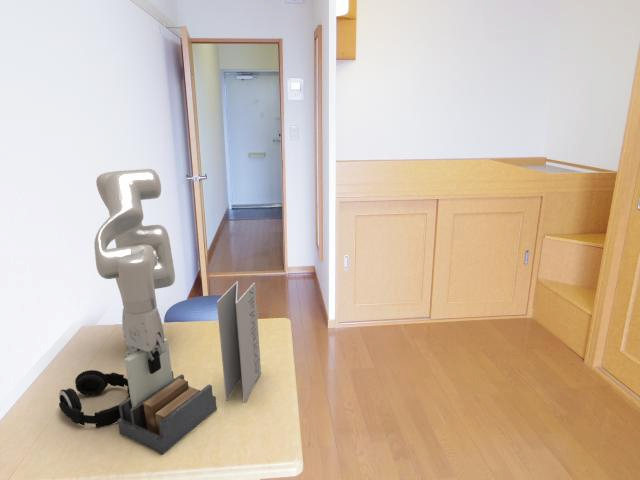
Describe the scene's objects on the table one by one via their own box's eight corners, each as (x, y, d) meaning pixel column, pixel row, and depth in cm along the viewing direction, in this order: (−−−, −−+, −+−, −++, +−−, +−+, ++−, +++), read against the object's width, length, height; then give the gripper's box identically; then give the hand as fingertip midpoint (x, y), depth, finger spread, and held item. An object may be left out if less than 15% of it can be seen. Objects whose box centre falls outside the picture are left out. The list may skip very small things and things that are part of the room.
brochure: (244, 403, 128) (236, 303, 119) (225, 400, 129) (216, 301, 120) (261, 373, 141) (255, 282, 132) (243, 372, 142) (236, 281, 133)
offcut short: (159, 438, 115) (155, 413, 113) (193, 411, 125) (191, 387, 123) (167, 443, 114) (164, 417, 112) (202, 414, 124) (199, 390, 122)
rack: (119, 433, 117) (114, 406, 115) (176, 392, 133) (172, 368, 130) (162, 454, 110) (158, 426, 108) (216, 408, 126) (214, 383, 123)
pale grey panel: (135, 427, 119) (124, 358, 113) (170, 401, 129) (162, 337, 123) (140, 430, 118) (129, 360, 112) (176, 403, 128) (167, 338, 122)
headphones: (85, 360, 135) (149, 373, 132) (87, 383, 138) (150, 396, 135) (40, 398, 119) (112, 414, 116) (43, 423, 121) (114, 439, 118)
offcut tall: (148, 433, 117) (143, 403, 114) (183, 406, 127) (179, 378, 124) (156, 437, 116) (151, 406, 113) (191, 410, 126) (187, 381, 123)
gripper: (104, 303, 115) (115, 367, 120) (151, 316, 107) (161, 385, 113) (129, 292, 121) (139, 354, 127) (175, 304, 113) (184, 370, 119)
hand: (149, 368), depth 120 cm, fingers open, 3 cm apart
